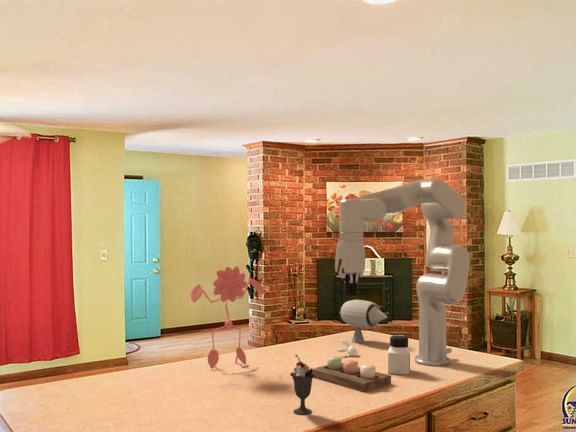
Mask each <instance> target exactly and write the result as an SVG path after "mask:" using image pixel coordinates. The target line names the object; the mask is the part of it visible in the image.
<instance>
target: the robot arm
mask: <svg viewBox="0 0 576 432" xmlns="http://www.w3.org/2000/svg"><path fill="white" fill-rule="evenodd" d="M419 205H420V208H421V213H422V214H423V215H424V217H425V219H426V220H427V223H428V225H429V229H430V230H429V231H430V232H429V240H428V244H427V250H426V255H425V264H426V266H427V268H429V269H430V270H432V271H437V272H447V274H442V273H441V274H440V273H424V274H422V275H421V276H420V277H419V278H418V279H417V281H416V287H415V289H416V295H417V299H418V316H419V317H418V339H419V340H418V355H415V356H414V361H415V362H416V363H417V364H421V365H426V366H446V365H449V364H451V358H450V357H449V356H448V354H451V353H452V350H453V349H452V348H451V347H447V311H446V307H445V305H444V303H449V304H458V303H459V302H461V300H462V299H463V298H464V296H465V292H466V288H467V281H468V277H469V271H470V265H471V263H470V262H471V259H470V258H471V257H470V254H469V251H468V250H467V249H466V247H464V246H461V245H456V244H454V239H455V238H454V237H455V230H454V227H453V225H452V223H451V222H450V219H453V220H457V219H460V218H462V217H463V216H464V215H465V213H466V210H467V203H466V200H465V198H464V197H463V195H461V194H460V193H459V192H457V190H455V189H454V188H453V187H452V186H451V185H449V184H448V183H447V182H445V181H444V180H443V179H440V178H426V179H425V178H424V179H423V178H422V179H416V180H413V181H409V182H406V183H404V184H401V185H398V186H394V187H391V188H388V189H387V188H386V189H384V190H380V191H376V192H372V193H368V194H363V195H362V196H358V197H356V198H344V199H341V200H340V201H339V225H338V226H339V238H338V239H339V241H338V242H337V244H336V245H337V246H336V250H335V251H336V252H335V257H334V258H335V259H334V260H335V262H334V271H335V273H338V278H340V279H343V281H344V283H345V295H346V296H350V297H354V296H355V297H356V296H357V284H358V282H359V278H360V277H363V276H364V272H365V270H366V250H365V249H366V248H365V243H364V223H365V222H366V223H367V222H368V223H376V222H380V221H382V220H384V218H385V217H386V215H387V214H396V213H401V212H404V211H406V210H409V209H412V208H414V207H417V206H419Z"/></svg>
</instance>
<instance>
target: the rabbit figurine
mask: <svg viewBox="0 0 576 432" xmlns="http://www.w3.org/2000/svg"><path fill="white" fill-rule="evenodd" d="M340 343H341V344H342V345H343V346H345V347H343V348H338V349H337V350H336V351H337V352H338V353H345V352H346V354H345V355H344V356H346V355H348V356H352V355H354V356H355V357H358V355H359V354H358V353H359V351H358V349H357V348H355V346H353V345H350V343H349V342H347V341H346V340H345V339H343V338H340Z"/></svg>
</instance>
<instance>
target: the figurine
mask: <svg viewBox="0 0 576 432" xmlns="http://www.w3.org/2000/svg"><path fill="white" fill-rule="evenodd" d="M216 276H217V279H215V280H214V281H213V283H212V284H213V286H214V289H213V295H214V296H217V295H220V298H217V299H215V300H211V298H210V297H209V296H208V294H207V293H206V292H205V290H204V289H203V287H202V286H201V284H197V285H195V286H194V287H193V289H192V290H191V292H190V299H191V302H192V303H193V304H195V303H196V302H197V301H198V300H200V298H201V297H202V295H203V294H204V295H205V296H204V297H206V298H207V300H208V301H209V302H210V303H211V304H212V303H216V302H219V301H221V302H223V303H225V306H224V307H225V311H226V316H227V320H226V321H225V322H224V326H221V327H219V328H217V329H215V330H212V332H211V338H212V349H210V351H209V353H208V355H207V364H208V365H209V367H210V370H213V369H214V368H215V367H216V366H217V364H218V362H219V359H220V357H219V356H220V355H219V352H218V350H217V349H215V345H214V343H215V341H214V332H216V331H218V330H221V329H223V328H226V329H230V328H232V327H233V328H236V329H237V330H239V334H238V336H239V337H238V338H239V339H238V340H239V341H238V346H237V347H236V348H235V353H236V354H235V355H236V356H235V363H237V362H238V360H239V361H240V362H241V363H242V364H244V365H245V366H246V365H247V357H246V353H245V351H244V350H243V349H242V348H241V328H240V327H237V326H236V325H233V321H232V320H230V317H229V316H230V315H229V311H228V301H230V302H232V303H234V302H236V300H237V299H238V300H239V299H241V300H242V299H243V298H244V295H245V294H246V292H247V289H248V287H249V285H251V286H252V287H253V289H254V290H256V291H257V292H258V293H260V294H262V295H266V292H265V290H264V288H263V286H262V284H261V283H260V282H258V281H257V280H256V279H254V278H251V277H249V279H248V282H247V281H245V280H246V274H245V273H244V272H242V273H241V272H240V267H239V266H236V265H235V266H234V267H233V268H231V267H229V266H226V267H225V268H224V270H222V269H220V270H217V271H216ZM243 289H244V290H243ZM257 369H258V367H256V368H255V369H254V368H253V369H252V370H249V371H247V373H249V372H254V371H256V370H257ZM244 373H246V371H244V372H237V373H236V372H235V373H233V375H235V374H236V375H237V374H244Z"/></svg>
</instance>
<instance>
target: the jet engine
mask: <svg viewBox="0 0 576 432" xmlns="http://www.w3.org/2000/svg"><path fill="white" fill-rule="evenodd" d="M340 317H341V320H342V321H343V322H345V324H347V325H349V326H351V327H355V330H354V333H353V336H352V340H351V343H355V344H364V343H365V338H364V336H363V332H362V329H374V328H376V327H378V325H379V323H380V322H381V321H383V320H385V319H387V318H389V317H388V316H387V315H386V314H385V313H384V312H382V310H381V309H380V306H379V305H378V303H376V302H373V301H369V300H365V299H353V300H348V301H345V302H344V303H343V304H342V306H341V308H340Z"/></svg>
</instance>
